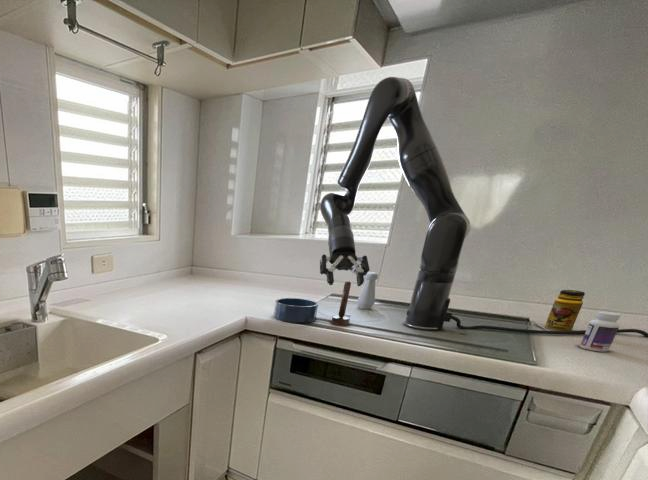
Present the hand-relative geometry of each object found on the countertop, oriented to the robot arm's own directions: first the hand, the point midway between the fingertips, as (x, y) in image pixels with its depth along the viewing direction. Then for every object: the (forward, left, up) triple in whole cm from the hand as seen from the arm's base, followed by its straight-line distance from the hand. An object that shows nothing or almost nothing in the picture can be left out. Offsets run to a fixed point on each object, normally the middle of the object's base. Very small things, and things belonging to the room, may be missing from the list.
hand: (345, 284), depth 125 cm
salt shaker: (-10, -27, -12) cm, 31 cm away
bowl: (+14, 0, -12) cm, 18 cm away
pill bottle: (-62, +3, -12) cm, 64 cm away
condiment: (-63, -18, -12) cm, 67 cm away
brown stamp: (0, +1, -12) cm, 12 cm away
